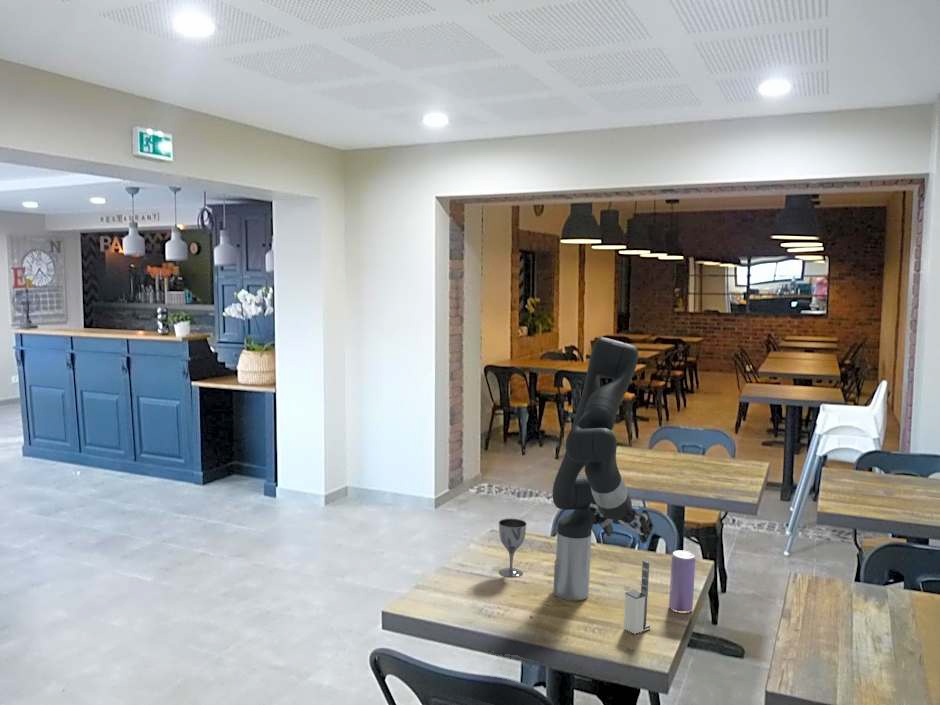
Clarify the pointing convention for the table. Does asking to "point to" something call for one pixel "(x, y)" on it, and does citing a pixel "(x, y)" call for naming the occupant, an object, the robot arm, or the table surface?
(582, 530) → the robot arm
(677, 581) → the beverage can
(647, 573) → the rail
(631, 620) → the fader knob
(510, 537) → the wine glass
